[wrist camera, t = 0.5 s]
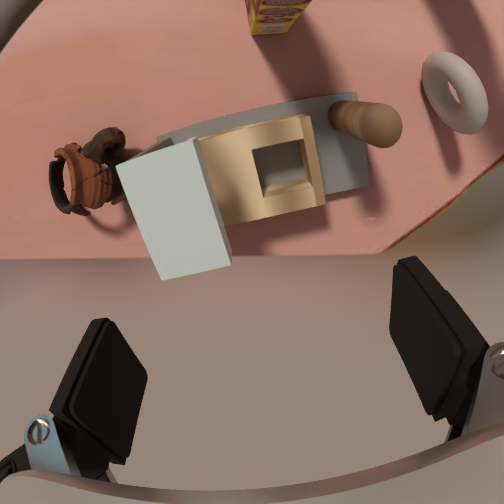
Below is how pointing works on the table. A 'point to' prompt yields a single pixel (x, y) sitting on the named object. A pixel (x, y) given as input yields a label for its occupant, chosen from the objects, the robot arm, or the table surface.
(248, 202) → the socket
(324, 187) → the mat
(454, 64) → the donut
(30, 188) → the table surface
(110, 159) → the pottery mug
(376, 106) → the peg
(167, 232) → the awning
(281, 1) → the candy box
